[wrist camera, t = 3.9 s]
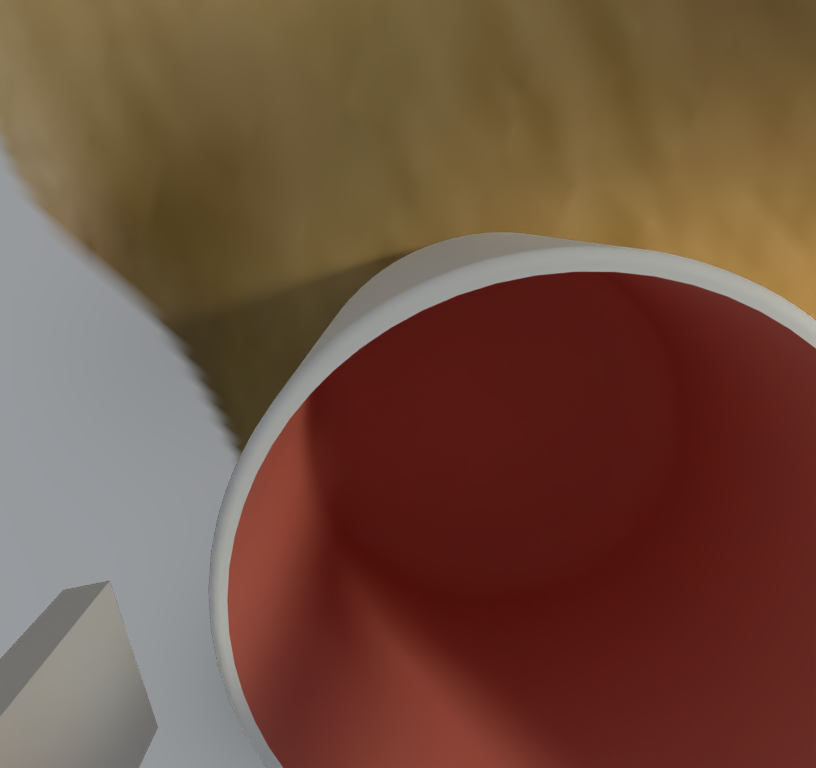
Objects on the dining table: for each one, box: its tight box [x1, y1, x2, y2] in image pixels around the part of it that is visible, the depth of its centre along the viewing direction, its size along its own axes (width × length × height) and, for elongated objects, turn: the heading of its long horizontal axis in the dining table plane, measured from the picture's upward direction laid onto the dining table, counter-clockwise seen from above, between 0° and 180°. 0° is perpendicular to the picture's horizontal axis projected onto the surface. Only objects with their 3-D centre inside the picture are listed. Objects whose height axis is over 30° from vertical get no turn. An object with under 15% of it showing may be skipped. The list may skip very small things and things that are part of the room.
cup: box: [209, 232, 816, 768], centre depth 15 cm, size 10×10×10 cm
